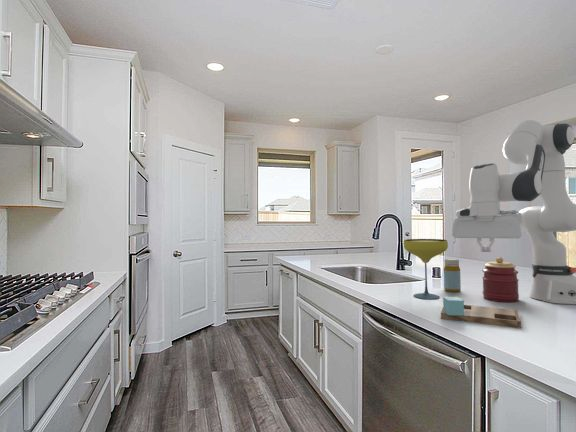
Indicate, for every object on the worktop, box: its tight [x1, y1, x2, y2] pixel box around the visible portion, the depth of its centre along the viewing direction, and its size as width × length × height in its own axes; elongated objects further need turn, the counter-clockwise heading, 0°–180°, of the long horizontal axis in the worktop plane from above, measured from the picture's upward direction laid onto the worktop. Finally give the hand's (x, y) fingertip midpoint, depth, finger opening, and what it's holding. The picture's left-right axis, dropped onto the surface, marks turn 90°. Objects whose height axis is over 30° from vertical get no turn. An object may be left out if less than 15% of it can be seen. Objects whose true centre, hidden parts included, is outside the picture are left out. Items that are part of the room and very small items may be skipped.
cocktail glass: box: [403, 238, 449, 301], centre depth 148 cm, size 18×18×25 cm
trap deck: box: [440, 304, 522, 329], centre depth 117 cm, size 23×15×2 cm, turn 60°
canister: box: [481, 256, 520, 303], centre depth 142 cm, size 13×13×18 cm
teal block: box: [442, 296, 465, 315], centre depth 115 cm, size 5×5×5 cm
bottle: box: [443, 257, 462, 293], centre depth 159 cm, size 7×7×15 cm
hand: (485, 251), depth 114 cm, fingers closed
